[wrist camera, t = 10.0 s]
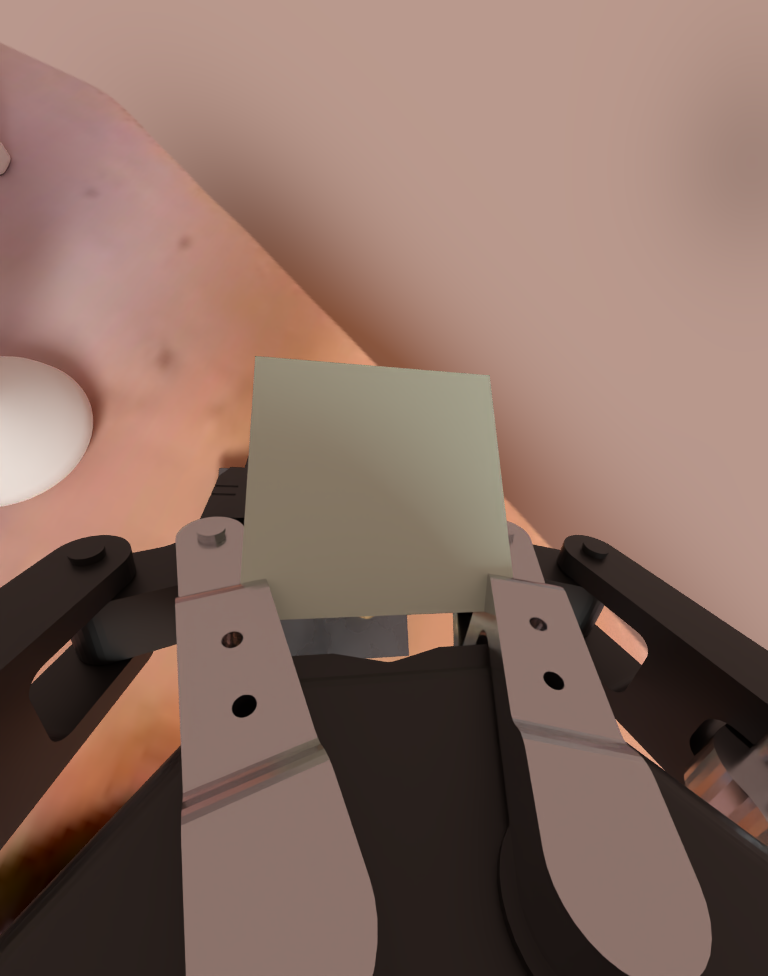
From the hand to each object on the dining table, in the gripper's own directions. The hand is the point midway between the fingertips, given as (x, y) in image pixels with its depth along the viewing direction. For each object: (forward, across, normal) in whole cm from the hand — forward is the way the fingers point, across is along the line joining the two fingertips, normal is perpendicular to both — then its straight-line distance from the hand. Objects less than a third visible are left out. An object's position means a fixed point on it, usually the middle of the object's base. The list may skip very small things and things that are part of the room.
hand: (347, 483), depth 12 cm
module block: (+2, 0, +4) cm, 5 cm away
